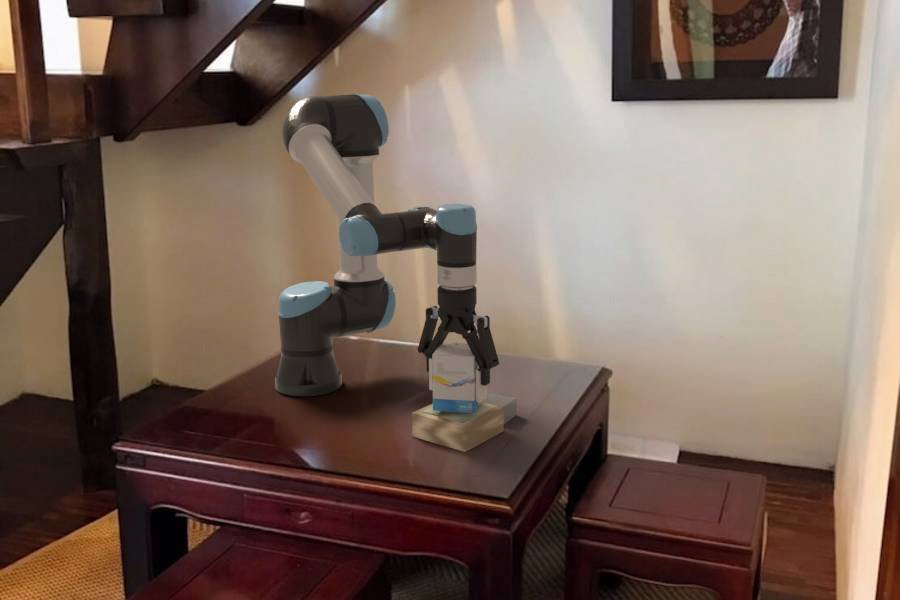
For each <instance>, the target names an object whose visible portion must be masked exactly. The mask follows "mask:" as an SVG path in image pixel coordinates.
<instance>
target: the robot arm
mask: <svg viewBox="0 0 900 600" xmlns="http://www.w3.org/2000/svg"><path fill="white" fill-rule="evenodd" d="M281 129H282V130H281V136H282V141H283V144H284V147H285V150H287V152H288V154H289V155H290V157H291V159H292V160H294V161H295V162H297V163H299V164H301V165H302V166H303V168H304V170H305V171H306V172H307V174H308V175H309V177H310V178H311V180H312V181H313V183H314V184H315V186H316V188H317V189H318V190H319V192H320V194H321V195H322V196H323V198H324V199H325V201H326V202H327V204H328V205H329V206H330V208H331V210H332V212H333V214H335V216H336V217H337V219H336V220H337V239H338V255H339V257H338V258H339V270H338V271H337V272H336V273H335V274H334V276H333V286H330V284H329V283H328V282H326V281H323V280H322V281H321V280H314V281H305V282H300V283H297V284H294V285H291V286H288V287H287V288H285V289H284V290H283V291H281V292H280V294H279V297H278V310H277V314H278V319H279V320H278V321H279V335H280V351H281V352H280V353H281V355H280V358H279V363H278V366H277V367H278V368H277V373H276V374H275V378H274V388H275V390H276V391H277V392H278V393H280V394H282V395H286V396H292V397H314V396H316V397H317V396H322V395H326V394H330V393H333V392H335V391H337V390H338V389H340V388H341V387H342V385H343V376H342V372H341V370H340V368H339V365H338V362H337V359H336V356H335V353H334V346H333V345H334V344H333V339H336V338H341V337H347V336H353V335H359V334H366V333H367V334H369V333H372V332H375V331H379V330H383V329H385V328H387V327H388V326H389V325H390V323H391V322H392V321H393V319H394V315H395V313H396V312H395V311H396V302H397V301H396V295H395V292H394V286H393V285H392V283H391V282H390V281H389V280H387V279H385V273H384V272H383V271H382V270H380V268H379V267H378V255H381V254H388V253H394V252H395V253H396V252H402V251H411V250H419V249H430V250H435V251H436V263H437V264H436V265H437V266H436V267H437V268H436V269H437V270H436V271H437V275H436V276H437V281H436V282H437V284H438V285H439V286H438V287H437V305H438V306H439V307H438V306H437V305H433V306H430V307H427V308H426V309H425V321H424V324H423V329H422V332H421V337H420V338H419V342H418V347H417V352H418V353H419V354H421V353H422V354H423V355H424V356H425V359H426V361H425V362H426V372H427V373H428V377H429V379H428V382H429V383H428V386H429V387H428V388H429V389H428V390H429V391H433V371H432V354H433V353H434V352H435V351H436V349H437V348H438V347H439V346H440V345H441V344H443V343H445V340H446V339H447V337H448V335H449V334H450V333H455V334H457V335H461V336H462V339H463V340H465V341H466V344H468V346H469V348H470V350H471V352H472V354H473V355H474V356H475V360H476V362H477V364H478V366H479V368H478V369H476V402H480V401H483V400H485V399H487V396H488V385H489V384H490V383H491V369H494V368H495V367H498V366H499V365H500V361H499V360H500V359H499V356H498V353H497V350H496V345H495V341H494V339H493V335H492V332H491V328H490V325H491V324H490V322H491V321H490V316H488V315H484V316H481V315H477V313H476V305H477V299H478V298H477V287H476V286H475V285H476V284H477V280H478V279H477V278H478V277H477V238H478V237H477V232H478V231H477V229H478V224H477V216H476V215H477V213H476V210H475V208H474V207H473V206H472V205H470V204H462V203H446V204H442V205H439V206H438V207H437V209H434V208H432V207H430V206H413V207H411V208H410V209H408V210H406V211H399V212H388V213H382V212H381V211H380V210H379V208H378V207H377V205H376V203H375V202H376V201H375V182H374V162H375V161H376V160H377V159H378V158H379V157H380V148H381V147H382V146H384V145H385V144H386V143H387V142H388V137H389V134H390V133H389V132H390V131H389V129H390V127H389V121H388V117H387V114H386V111H385V108H384V106H383V105H382V104H381V101H380V100H379V99H378V98H376V97H375V96H373V95H371V94H363V93H362V94H359V93H358V94H357V93H352V94H336V95H311V96H307V97H304V98H302V99H300V100H298V101H297V102H296V103H294V104H293V105H292V106H291V107H290V109H289V110H288V111H287V113H286V115H285V117H284V120H283V123H282V128H281ZM439 319H440V324H439V326H438V328H437V331H436V327H437V324H438V320H439ZM435 331H436V333H435Z"/></svg>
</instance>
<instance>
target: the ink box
mask: <svg viewBox="0 0 900 600" xmlns="http://www.w3.org/2000/svg"><path fill="white" fill-rule="evenodd" d="M478 368H479V366H478V364H477V362H476V360H475V356H474V355H473V354H472V352H471V350H470V348H469V346H468V344H467V343H461V342H459V343H458V342H450V343H449V342H443V344H441V345H440V346H439V347H438V348H437V349H436V351H435V352H434V353H433V354H432V371H433V390H432V404H433V410H434V411H448V412H464V413H474V412H475V411H476V409H477V407H478V406H479V404H480V402H481V401H480V402H476V369H478Z"/></svg>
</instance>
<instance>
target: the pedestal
mask: <svg viewBox="0 0 900 600" xmlns="http://www.w3.org/2000/svg"><path fill="white" fill-rule="evenodd" d="M411 423H412V424H411V426H412V428H411V429H412V432H411V434H412V437H413V438H415V439H420V440H423V441H427V442H430V443H432V444H436V445H440V446H443V447H446V448H451V449H454V450H456V451H460V452H462V453H463V452H464V453H465V452H467V451H469V450H471V449H473V448H475V447H477V446H478V445H480V444H483V443H484V442H486V441H488V440H491V438H493V437H494V438H495V437H496V436H498V435H499V434H501V433H503V432H504V430H505V428H504V427H505V424H504V408H503V407H499V406H495V405H491V404H487V403H483V402H480V404H479V406H478V407H477V409H476V411H475V412H474V413H464V412H448V411H434V410H433V403H430V404H428V405H426V406H424V407H422V408H420V409H418V410H415V411H412V413H411Z"/></svg>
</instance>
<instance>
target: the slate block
mask: <svg viewBox="0 0 900 600" xmlns="http://www.w3.org/2000/svg"><path fill="white" fill-rule="evenodd" d="M481 402H483V403H487V404H491V405H495V406H499V407H503V408H504V425H505V424H506V423H508V422H509V421H510V420H512V419H513V418H514V417H516V416H517V397H512V396H507V395H503V394H496V393H488V394H487V399H485V400H483V401H481Z"/></svg>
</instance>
